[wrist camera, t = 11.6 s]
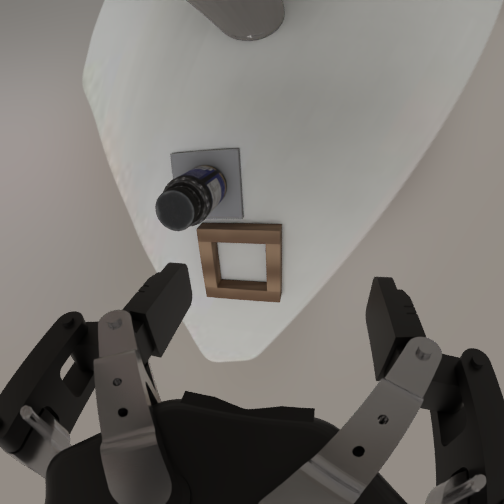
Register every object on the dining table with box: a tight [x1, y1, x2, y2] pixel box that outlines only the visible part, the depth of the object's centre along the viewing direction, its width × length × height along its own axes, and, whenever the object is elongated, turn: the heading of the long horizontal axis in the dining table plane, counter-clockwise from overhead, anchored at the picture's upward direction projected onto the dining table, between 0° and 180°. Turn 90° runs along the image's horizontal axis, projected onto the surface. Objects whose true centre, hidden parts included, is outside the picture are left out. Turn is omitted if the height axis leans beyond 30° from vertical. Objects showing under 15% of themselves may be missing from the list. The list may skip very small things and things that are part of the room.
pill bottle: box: [156, 165, 227, 231], centre depth 33 cm, size 6×6×11 cm
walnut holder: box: [197, 223, 282, 302], centre depth 42 cm, size 12×12×2 cm
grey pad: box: [170, 148, 244, 219], centre depth 38 cm, size 10×10×1 cm
